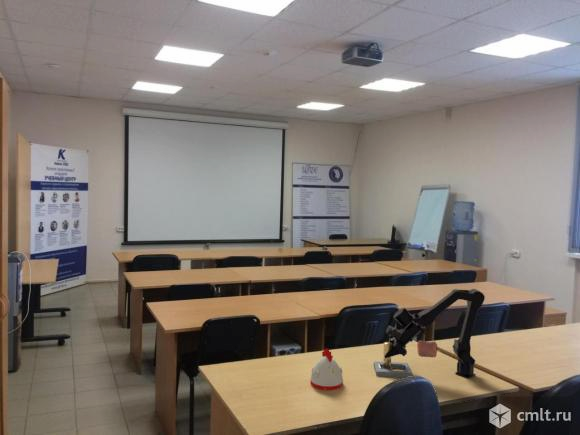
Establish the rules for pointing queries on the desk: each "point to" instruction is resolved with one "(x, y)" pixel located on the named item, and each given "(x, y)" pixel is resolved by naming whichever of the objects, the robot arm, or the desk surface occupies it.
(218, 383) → the desk surface
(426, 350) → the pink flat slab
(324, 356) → the kitchen timer
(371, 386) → the desk surface
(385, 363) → the brass peg
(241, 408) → the desk surface
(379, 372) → the square frame
